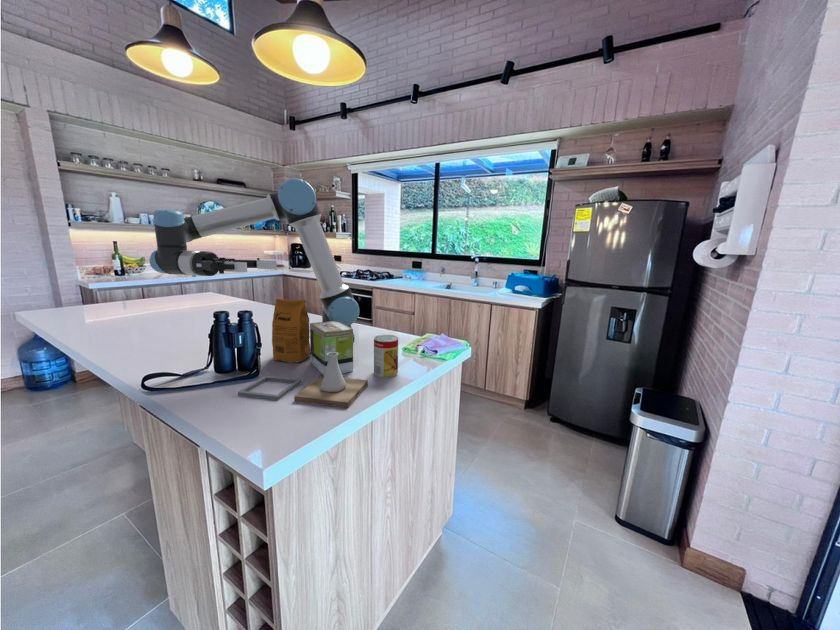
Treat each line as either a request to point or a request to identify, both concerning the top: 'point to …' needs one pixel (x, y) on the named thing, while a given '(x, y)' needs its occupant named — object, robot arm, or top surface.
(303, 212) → the robot arm
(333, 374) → the flask
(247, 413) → the top surface
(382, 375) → the canned food
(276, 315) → the coffee package
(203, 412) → the top surface
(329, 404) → the walnut board
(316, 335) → the tea box
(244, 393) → the grey square frame
